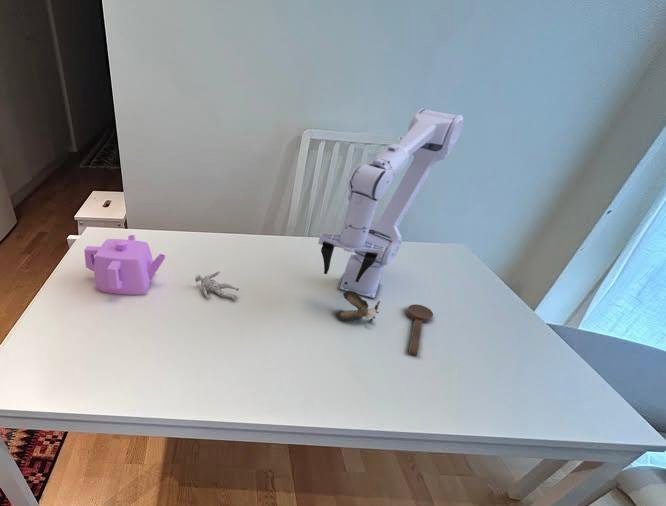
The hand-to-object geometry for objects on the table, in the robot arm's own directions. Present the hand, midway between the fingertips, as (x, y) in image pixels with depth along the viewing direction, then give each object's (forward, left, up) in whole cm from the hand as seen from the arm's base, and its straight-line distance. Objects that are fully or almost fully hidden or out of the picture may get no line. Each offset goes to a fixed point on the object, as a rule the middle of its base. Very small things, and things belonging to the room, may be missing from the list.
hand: (341, 276), depth 95 cm
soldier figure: (-30, -9, -10) cm, 33 cm away
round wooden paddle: (+21, 0, -10) cm, 23 cm away
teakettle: (-54, -16, -10) cm, 57 cm away
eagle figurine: (+6, -2, -10) cm, 12 cm away
